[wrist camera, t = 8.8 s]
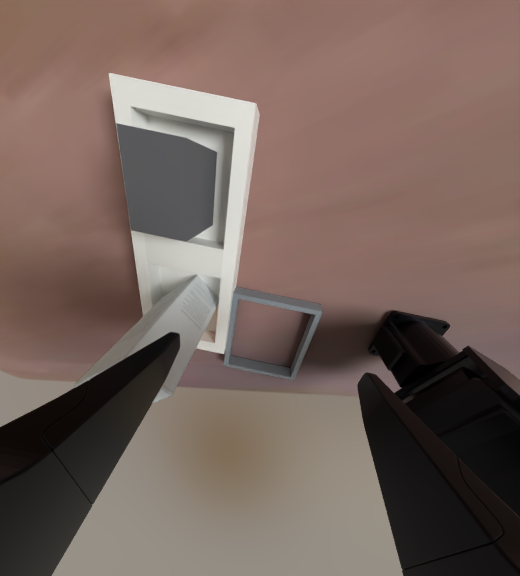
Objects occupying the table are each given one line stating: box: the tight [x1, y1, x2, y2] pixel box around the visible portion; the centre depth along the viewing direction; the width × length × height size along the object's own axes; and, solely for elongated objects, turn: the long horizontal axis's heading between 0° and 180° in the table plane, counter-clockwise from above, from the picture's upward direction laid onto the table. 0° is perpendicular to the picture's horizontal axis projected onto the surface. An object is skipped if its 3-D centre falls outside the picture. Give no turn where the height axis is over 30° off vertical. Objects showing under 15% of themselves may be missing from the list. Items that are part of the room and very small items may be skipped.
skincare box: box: [74, 275, 219, 403], centre depth 18 cm, size 6×4×12 cm
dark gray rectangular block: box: [116, 123, 217, 242], centre depth 15 cm, size 4×6×6 cm, turn 170°
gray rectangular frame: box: [224, 287, 323, 381], centre depth 25 cm, size 10×12×2 cm
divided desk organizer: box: [109, 73, 260, 354], centre depth 20 cm, size 10×24×2 cm, turn 170°
